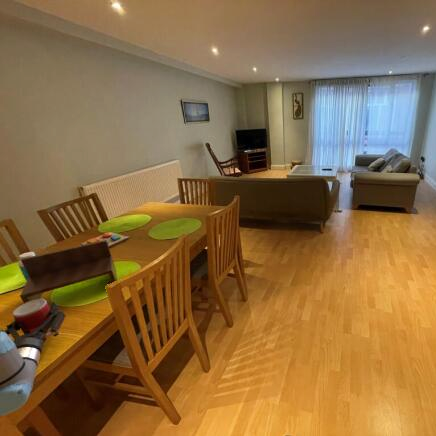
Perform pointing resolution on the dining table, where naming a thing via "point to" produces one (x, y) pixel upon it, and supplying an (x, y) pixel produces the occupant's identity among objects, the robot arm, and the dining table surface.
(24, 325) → the canned food
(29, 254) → the pill bottle
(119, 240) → the puzzle board
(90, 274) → the shelf
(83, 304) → the dining table surface
